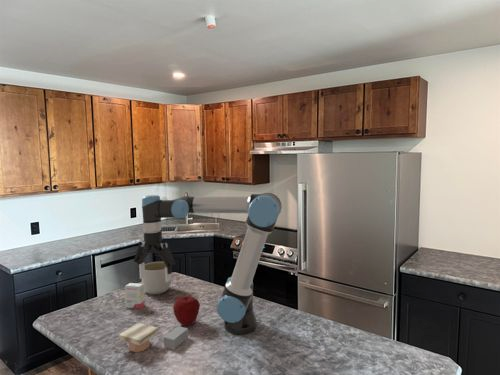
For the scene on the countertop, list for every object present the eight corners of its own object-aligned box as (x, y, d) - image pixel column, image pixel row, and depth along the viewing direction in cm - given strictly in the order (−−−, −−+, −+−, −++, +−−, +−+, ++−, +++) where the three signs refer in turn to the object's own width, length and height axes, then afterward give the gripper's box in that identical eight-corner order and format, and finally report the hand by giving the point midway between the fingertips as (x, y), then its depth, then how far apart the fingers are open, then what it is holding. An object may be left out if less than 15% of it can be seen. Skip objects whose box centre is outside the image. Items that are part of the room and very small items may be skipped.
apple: (169, 327, 155) (168, 299, 154) (182, 316, 166) (181, 290, 165) (192, 331, 151) (191, 303, 150) (204, 320, 162) (203, 293, 161)
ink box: (145, 304, 179) (144, 283, 178) (140, 309, 174) (139, 286, 173) (130, 303, 181) (129, 282, 180) (125, 307, 176) (124, 285, 175)
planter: (155, 299, 186) (154, 272, 185) (135, 293, 195) (134, 267, 194) (178, 289, 200) (177, 264, 199) (158, 283, 209) (157, 260, 208)
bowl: (153, 343, 141) (153, 333, 141) (139, 353, 134) (139, 342, 134) (138, 339, 144) (138, 329, 144) (124, 349, 137) (124, 338, 137)
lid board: (158, 332, 142) (158, 327, 141) (140, 345, 132) (139, 340, 131) (138, 327, 146) (138, 322, 146) (118, 339, 136) (118, 334, 136)
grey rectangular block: (188, 337, 146) (187, 328, 146) (174, 349, 137) (173, 339, 137) (178, 335, 148) (178, 326, 148) (164, 346, 139) (163, 337, 139)
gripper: (182, 230, 144) (184, 279, 146) (135, 228, 153) (137, 273, 155) (172, 234, 137) (174, 285, 139) (123, 231, 146) (126, 279, 148)
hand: (155, 279), depth 147 cm, fingers open, 13 cm apart
